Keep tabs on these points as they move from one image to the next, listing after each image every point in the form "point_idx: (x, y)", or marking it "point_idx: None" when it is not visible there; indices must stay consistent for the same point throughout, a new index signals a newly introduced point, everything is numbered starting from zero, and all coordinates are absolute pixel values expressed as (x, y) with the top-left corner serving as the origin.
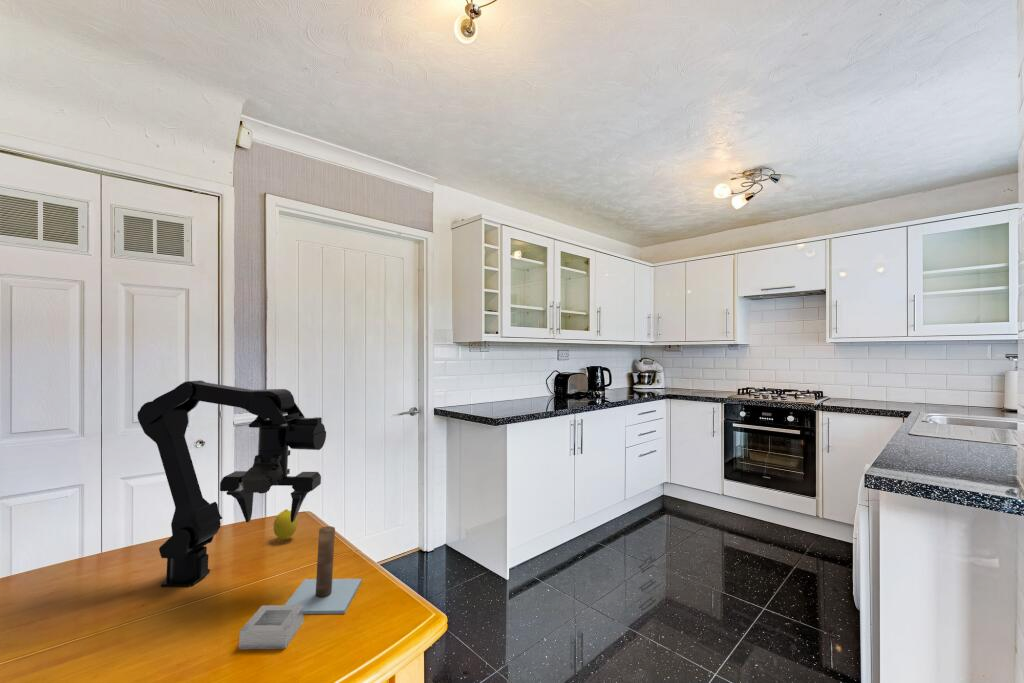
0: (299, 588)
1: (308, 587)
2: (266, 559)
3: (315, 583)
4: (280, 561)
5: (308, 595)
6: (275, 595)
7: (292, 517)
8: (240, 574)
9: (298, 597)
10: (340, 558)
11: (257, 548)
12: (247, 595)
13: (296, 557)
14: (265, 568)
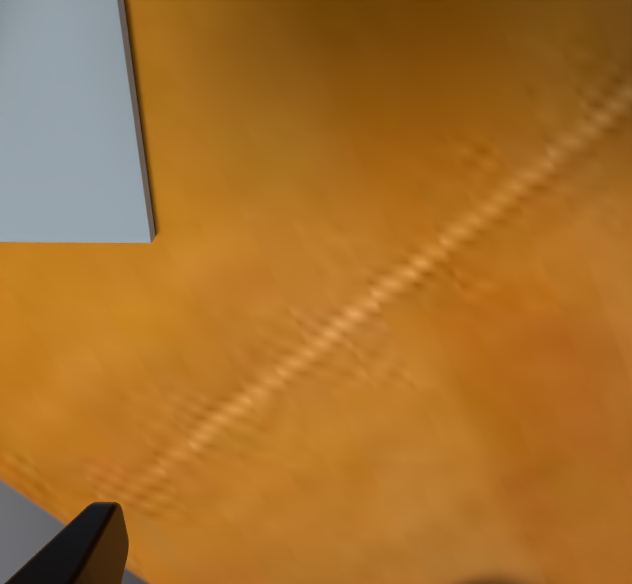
0: (122, 129)
1: (73, 141)
2: (482, 466)
3: (59, 190)
4: (400, 446)
5: (14, 37)
6: (253, 81)
7: (59, 551)
8: (564, 324)
9: (66, 11)
10: (98, 467)
11: (570, 561)
12: (429, 85)
13: (333, 480)
14: (450, 382)
